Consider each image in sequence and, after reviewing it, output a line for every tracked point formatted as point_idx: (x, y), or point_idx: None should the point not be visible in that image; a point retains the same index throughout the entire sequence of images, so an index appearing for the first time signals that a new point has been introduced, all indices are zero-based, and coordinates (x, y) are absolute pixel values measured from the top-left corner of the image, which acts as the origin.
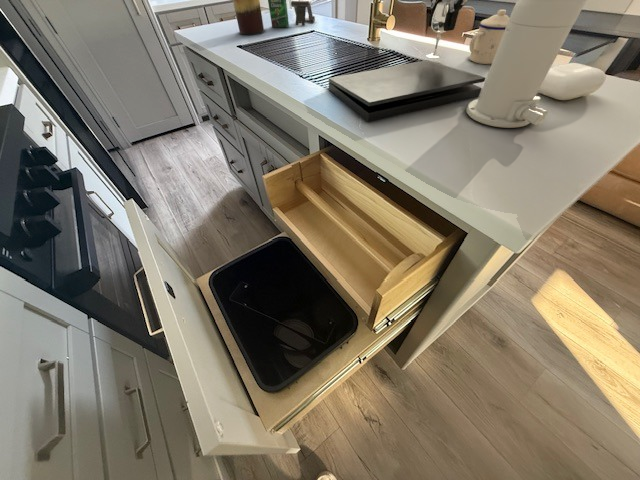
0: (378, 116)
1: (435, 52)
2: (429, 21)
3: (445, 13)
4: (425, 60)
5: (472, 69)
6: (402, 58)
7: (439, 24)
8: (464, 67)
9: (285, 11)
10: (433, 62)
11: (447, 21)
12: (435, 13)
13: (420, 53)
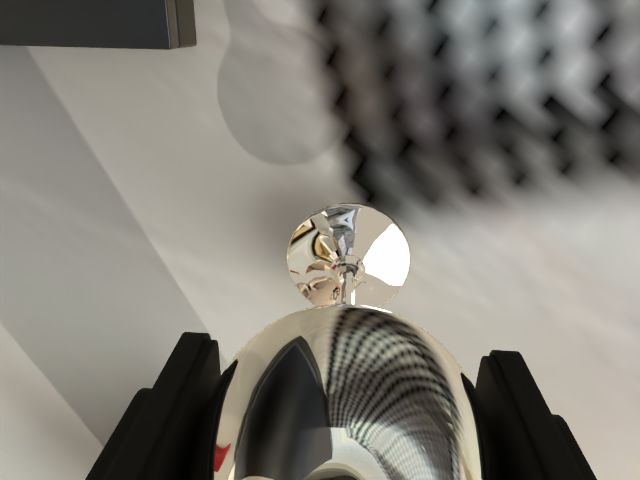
0: None
1: (335, 270)
2: (524, 380)
3: (197, 468)
4: (163, 28)
5: (105, 342)
6: (594, 108)
7: (258, 340)
8: (156, 333)
9: None
10: (55, 35)
11: (149, 397)
12: (372, 412)
13: (585, 314)
